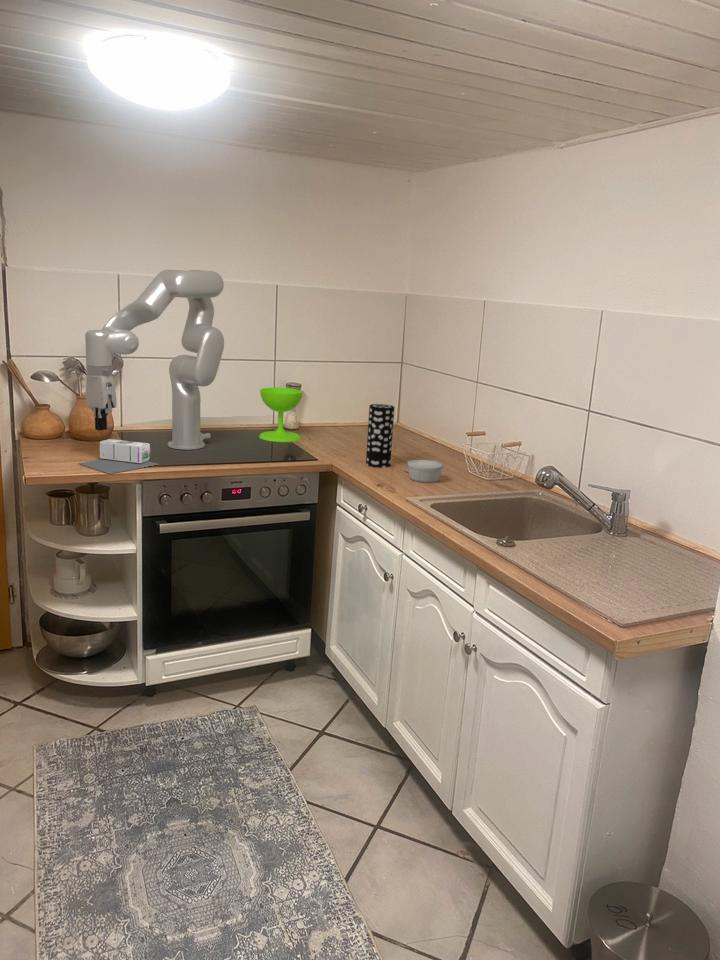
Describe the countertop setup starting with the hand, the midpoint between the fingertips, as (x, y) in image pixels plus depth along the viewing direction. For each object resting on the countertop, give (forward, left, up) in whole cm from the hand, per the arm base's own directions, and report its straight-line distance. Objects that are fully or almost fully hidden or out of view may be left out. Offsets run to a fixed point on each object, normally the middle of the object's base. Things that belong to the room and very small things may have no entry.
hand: (101, 429), depth 235 cm
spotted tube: (-65, +61, -10) cm, 90 cm away
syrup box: (-1, 0, -6) cm, 6 cm away
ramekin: (-61, +82, -10) cm, 103 cm away
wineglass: (-71, +10, -10) cm, 72 cm away
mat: (0, +9, -10) cm, 13 cm away
